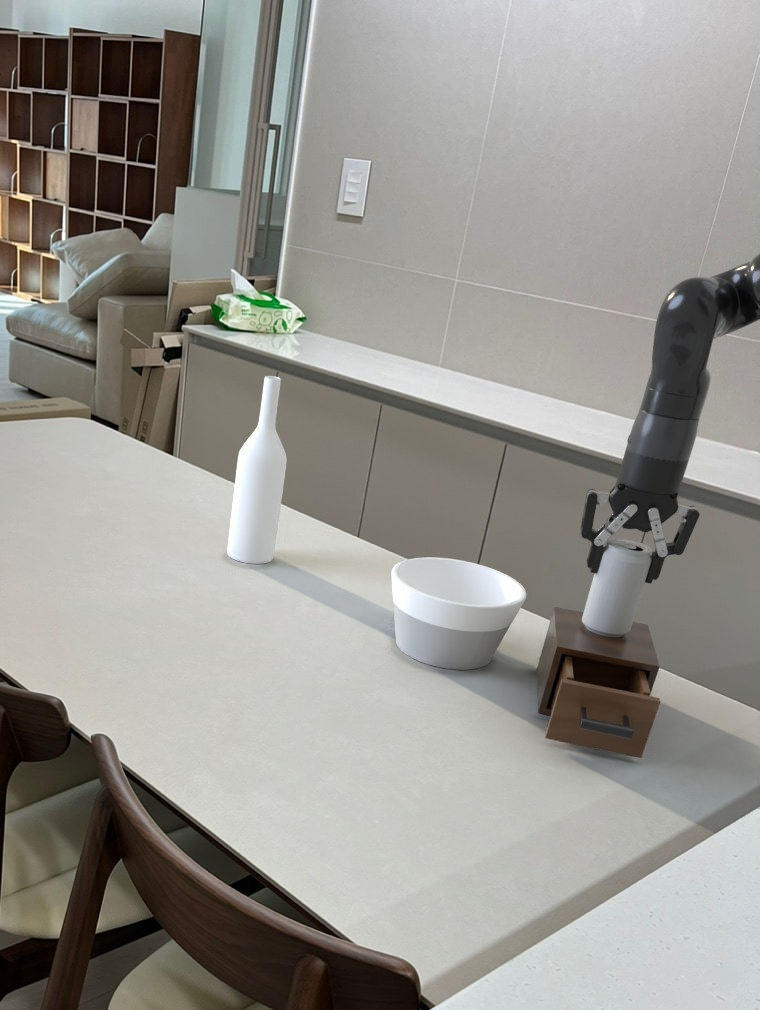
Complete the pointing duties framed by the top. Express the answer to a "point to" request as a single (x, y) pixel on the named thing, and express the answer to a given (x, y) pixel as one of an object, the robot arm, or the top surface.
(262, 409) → the bottle
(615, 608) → the beverage can
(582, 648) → the cabinet
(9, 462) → the top surface
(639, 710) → the drawer
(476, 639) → the bowl
